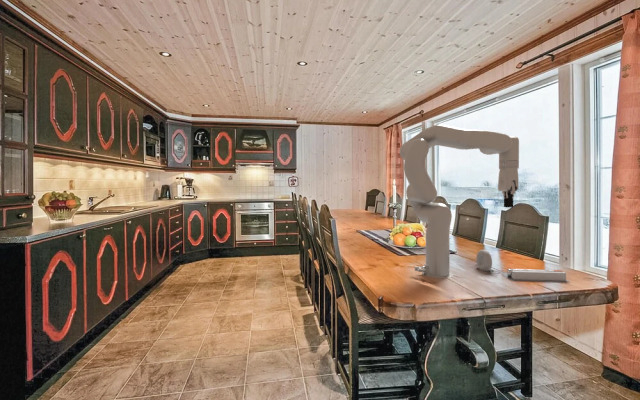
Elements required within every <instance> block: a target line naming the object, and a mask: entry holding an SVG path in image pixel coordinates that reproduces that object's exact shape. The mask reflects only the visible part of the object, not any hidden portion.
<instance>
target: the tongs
mask: <svg viewBox="0 0 640 400" xmlns="http://www.w3.org/2000/svg"><path fill="white" fill-rule="evenodd" d="M499 274H501V276H503V277H505V278H507V279H509V280H510V281H511V282H514V281H515V282H516V281H517V282H540V283H541V282H545V283H546V282H548V283H549V282H550V283H570V281H569V280H567V272H564V271H563V272H544V271H512V277H507V272H500V271H499Z"/></svg>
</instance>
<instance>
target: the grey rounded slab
mask: <svg viewBox="0 0 640 400" xmlns="http://www.w3.org/2000/svg"><path fill="white" fill-rule="evenodd" d="M475 259H476V260H475V261H476V265H477V268H478V269H479V270H480V271H483V272H489V271H490V270H491V269H492V267H493V258H492V255H491V253H490V252H489V251H488V250H487V249H480V250H479V251H478V252H477V253H476V258H475Z"/></svg>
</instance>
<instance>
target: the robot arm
mask: <svg viewBox="0 0 640 400" xmlns="http://www.w3.org/2000/svg"><path fill="white" fill-rule="evenodd" d="M435 146H440V147H445V148H446V147H447V148H451V149H456V150H466V151H467V150H477V149H478V150H479V152H480V153H482V154H483V155H489V156H490V155H496V154H498V170H499V172H498V181H497V182H498V183H497V190H498V192H501V193H502V195H503V208H514V197H515V194H516V192H517V191H518V190H519V171H518V170H519V169H520V165H519V164H520V140H519V137H517V136H509V135H508V134H506V133H502V132H497V131H492V130H490V131H489V130H480V129H478V130H477V129H466V128H460V127H455V126H450V125H444V124H435V125H432V126H429V127H427V128H425V129H423V130H422V131H419V133H418V134H416V135H414V136H413V137H411V138H410V139H408V140H406V142H404V143H403V144H401V146H400V148H399V155H400V158H401V159H402V160H404V163H403V164H404V165H403V170H404V171H403V172H404V175H405V178H406V179H407V181H408V185H407V187H406V192H405V193H406V198H407V201H408V202H409V204H410V206H411V208H412V210H413V212H414V214H415V215H416V217H417V218H418V219H419V220H420V221H421V222H422V223H425V224H427V226H426V230H425V263H423V265H422V266H416V265H415V266H414V271H415V272H418V273H421V274H422V275H423V276H425V277H428V278H434V279H446V278H447V279H449V278H452V277H454V274H453V273H452V272H450V232H451V231H450V230H451V224H452V218H453V216H452V210H451V209H450V207H448V205H446V204H445V203H441V202H435V200H436V199H437V198H438V190H437V188H436V186H435V185H434V183H433V181H432V179H431V177H430V175H429V173H428V171H427V168H426V158H427V156H428V153H429V150H430V148H432V147H435Z"/></svg>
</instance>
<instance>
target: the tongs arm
mask: <svg viewBox="0 0 640 400" xmlns="http://www.w3.org/2000/svg"><path fill="white" fill-rule="evenodd" d="M506 271H507V272H506V273H507V277H512V271H544V272H564V270H561V269H534V268H533V269H530V268H528V269H526V268H507V269H506ZM507 277H506V278H507Z"/></svg>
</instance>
